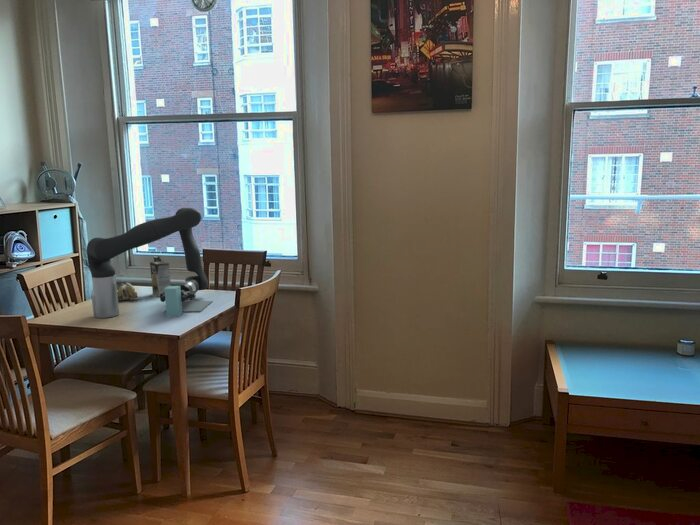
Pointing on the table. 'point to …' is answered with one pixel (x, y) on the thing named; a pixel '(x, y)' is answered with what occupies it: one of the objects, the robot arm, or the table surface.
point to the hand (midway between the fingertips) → (172, 299)
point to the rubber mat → (194, 306)
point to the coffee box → (160, 276)
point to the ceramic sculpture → (126, 292)
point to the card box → (173, 301)
